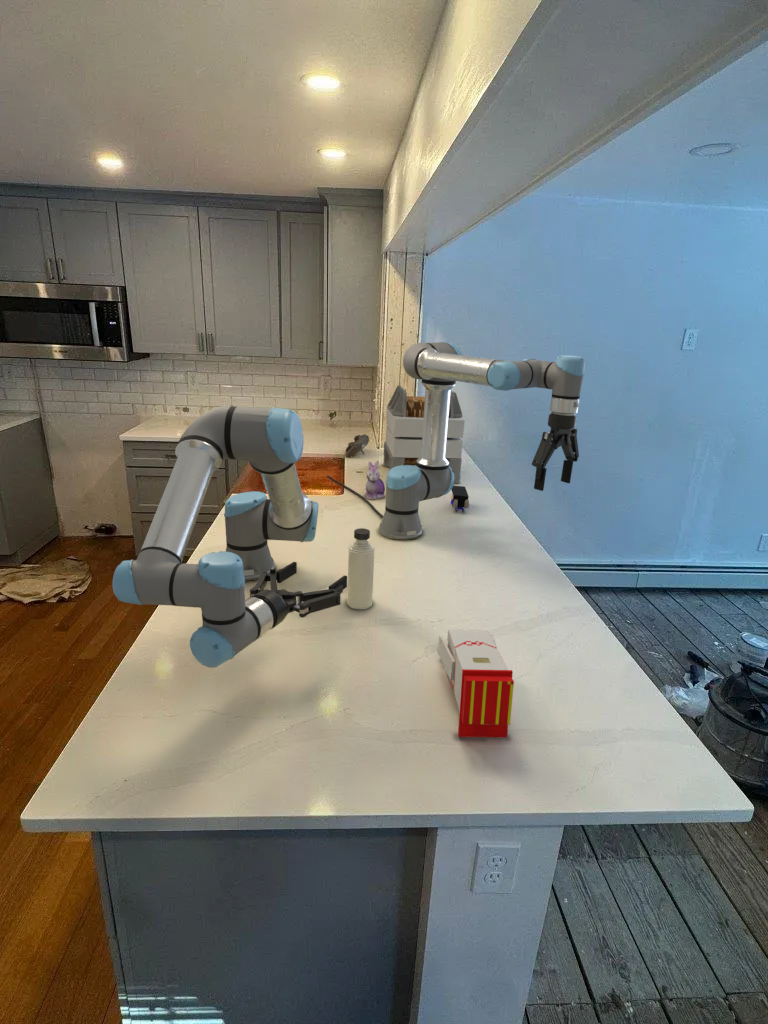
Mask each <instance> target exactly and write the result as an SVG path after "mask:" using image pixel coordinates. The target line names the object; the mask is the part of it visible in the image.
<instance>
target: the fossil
mask: <svg viewBox="0 0 768 1024" xmlns="http://www.w3.org/2000/svg"><path fill="white" fill-rule="evenodd" d="M353 440H354V441H350V442H348V444H347V445H348V446H347V447H346V449H345V453H344V455H345V457H346V458H352V457H355V456H356V455H358V454H359V453H361V452H362V454H363V455H364V454H365V453H364V451H363V450H364V449H365V447H367V446H368V444H369V443H370V436H369V435H368V434H365V433H364V434H362V435H361V434H357V435H355V436H354V437H353Z"/></svg>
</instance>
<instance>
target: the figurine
mask: <svg viewBox="0 0 768 1024" xmlns="http://www.w3.org/2000/svg"><path fill="white" fill-rule="evenodd" d="M367 465H368V471H367V473H366V478H367V482H366V484H365V491H366V492H365V496H364V497H366V498H365V499H367V500H377V499H378V500H379V499H382V498H384V497H385V493H386V485H385V483H384V481H383V480H382V479H381V473H380V471H379V466H380V461H379V460H377V461H376V462H375V463H374V464H373V462H372V461H368V464H367Z"/></svg>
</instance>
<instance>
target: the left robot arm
mask: <svg viewBox="0 0 768 1024" xmlns="http://www.w3.org/2000/svg"><path fill="white" fill-rule="evenodd" d="M303 431H304V429H303V425H302V421H301V418H300V416H299V415H298V413H297V412H296V411H294V410H292V409H289V408H281V407H278V406H277V407H264V406H263V407H262V406H261V407H260V406H235V405H222V406H221V405H220V406H217V407H214V408H212V409H209V410H207V411H206V412H204V413H203V414H201V415H200V416H198V417H197V418H196V419H195V420H194V421H192V422H191V423H190V424H189V426H188V427H187V428H186V429H185V430H184V432H183V433H182V435H181V436H180V438H179V440H178V442H177V445H176V447H175V449H174V453H175V456H176V460H175V463H174V466H173V468H172V471H171V474H170V475H169V478H168V481H167V484H166V486H165V489H164V491H163V494H162V496H161V498H160V500H159V503H158V506H157V509H156V511H155V513H154V517H152V518H153V519H152V521H151V524H150V526H149V529H148V531H147V534H146V536H145V538H144V541H143V543H142V546H141V549H140V551H139V552H138V555H137V558H136V559H130V560H129V559H128V560H127V559H126V560H122V561H121V562H120V563H119V564H118V565H117V566H116V568H115V570H114V572H113V577H112V591H113V594H114V596H115V597H116V599H117V600H118V601H119V602H121V603H125V604H126V603H127V604H131V605H133V604H134V605H140V606H145V605H151V606H152V605H153V606H173V607H182V608H183V607H184V608H201V609H200V610H201V621H202V625H201V626H200V627H197V629H196V630H195V631H194V632H192V634H191V636H190V639H189V648H190V651H191V654H192V656H193V657H194V659H195V660H196V661H197V662H198V663H199V664H201V666H205V667H207V668H211V669H213V668H218V667H220V666H221V665H223V664H225V663H227V662H228V661H230V660H232V659H234V658H235V657H236V656H237V655H238V654H240V653H241V652H242V651H243V650H245V649H247V647H249V646H250V645H251V644H253V643H254V642H256V641H257V640H258V639H260V638H261V637H262V636H264V635H266V634H267V633H268V632H270V631H271V630H273V629H274V628H275V627H277V626H279V625H280V624H281V623H283V622H284V620H285V619H286V617H287V616H288V614H290V613H294V612H296V613H298V615H299V618H305V617H307V616H308V615H310V614H314V613H316V612H320V611H323V610H325V609H326V610H327V609H329V608H333V607H337V606H339V605H341V594H343V593H344V590H345V589H348V575H343V576H341V577H340V578H339V579H337V580H335V582H333V583H332V584H330V585H329V586H328V588H327V589H326V588H325V589H321V590H320V589H319V590H313V591H306V592H303V591H301V590H298V591H291V590H290V591H288V590H286V589H283V588H282V589H279V588H278V584H279V585H280V584H281V583H283V582H284V581H286V580H288V579H290V578H291V577H292V576H295V575H296V574H297V573H298V562H297V561H293V562H291V563H289V564H288V565H286V566H284V567H282V568H279V569H277V570H276V568H275V561H274V558H273V556H272V554H271V551H270V547H269V545H268V541H283V542H300V543H305V542H306V543H309V542H313V541H314V540H315V538H316V532H317V525H318V515H319V506H320V505H319V503H318V501H313V500H311V499H309V497H308V496H307V495H306V494H305V493H304V492H303V490H302V486H301V483H300V478H299V474H298V470H297V466H296V463H297V462H299V461H300V460H301V459H302V456H303V451H304V441H305V439H304V433H303ZM224 460H235V461H236V460H237V461H248V463H249V466H251V468H252V470H254V471H256V472H257V473H259V474H260V476H261V479H262V481H263V485H264V487H265V490H266V492H267V494H266V493H265V492H263V491H257V490H256V491H246V492H240V493H237V494H234V495H232V496H229V497H228V498H227V499H226V501H225V502H224V514H223V516H224V526H225V542H226V548H225V551H223V550H221V551H217V552H216V551H215V552H214V551H213V552H209V553H206V554H204V555H202V556H201V557H200V558H199V560H198V564H197V563H186V562H185V563H184V562H183V560H184V557H185V554H186V551H187V548H188V545H189V542H190V540H191V537H192V533H193V531H194V528H195V525H196V523H197V519H198V517H199V513H200V512H201V508H202V505H203V502H204V499H205V497H206V494H207V491H208V488H209V485H210V482H211V480H212V477H213V474H214V472H215V471H218V470H219V469H220V467H221V466H222V463H223V461H224ZM267 495H268V497H267ZM250 581H251V582H252V581H256V583H255V585H254V586H253V587H251V588H250V589H249V598H247V599H246V582H250ZM268 582H269V583H270V589H268V588H267V589H266V587H267V584H268ZM297 597H298V603H297Z"/></svg>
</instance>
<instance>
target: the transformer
mask: <svg viewBox="0 0 768 1024" xmlns="http://www.w3.org/2000/svg"><path fill="white" fill-rule="evenodd" d="M407 394H408V393H407V390H406V389H404V388H403V387H402V385H399V384H398V385H397V386H396V388H395V390H394V392H393V394H392V395H391V398H390V400H389V402H388V404H387V405H386V413H385V414H386V415H385V423H386V428H385V438H384V442H383V466H384V467H388V468H389V470H390V469H392V468H394V467H396V466H401V465H404V466H405V465H413V466H416V461H417V459H418V458H420V457H421V449H422V434H423V419H424V404H425V396H415V395H414V396H413V395H412V396H411V395H407ZM464 429H465V419H464V418H463V411H462V408H461V405H460V402H459V398H458V395H457V392H455V391H453V390H451V392H450V404H449V416H448V428H447V441H446V453H445V458H446V459H447V461H448V462H449V466H450V467H451V469H452V473H454V484H455V483H456V484H459V483H461V472H462V461H463V460H462V453H463V442H464V441H463V440H462V439H463V438H464V431H465V430H464Z"/></svg>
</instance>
